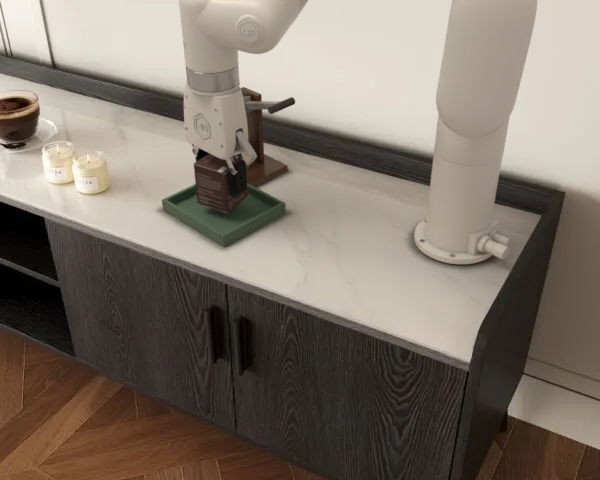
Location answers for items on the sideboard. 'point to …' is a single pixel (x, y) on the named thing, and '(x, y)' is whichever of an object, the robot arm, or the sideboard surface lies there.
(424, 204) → the sideboard surface
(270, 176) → the brown lever stand
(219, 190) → the box
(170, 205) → the square tray
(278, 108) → the lever handle
